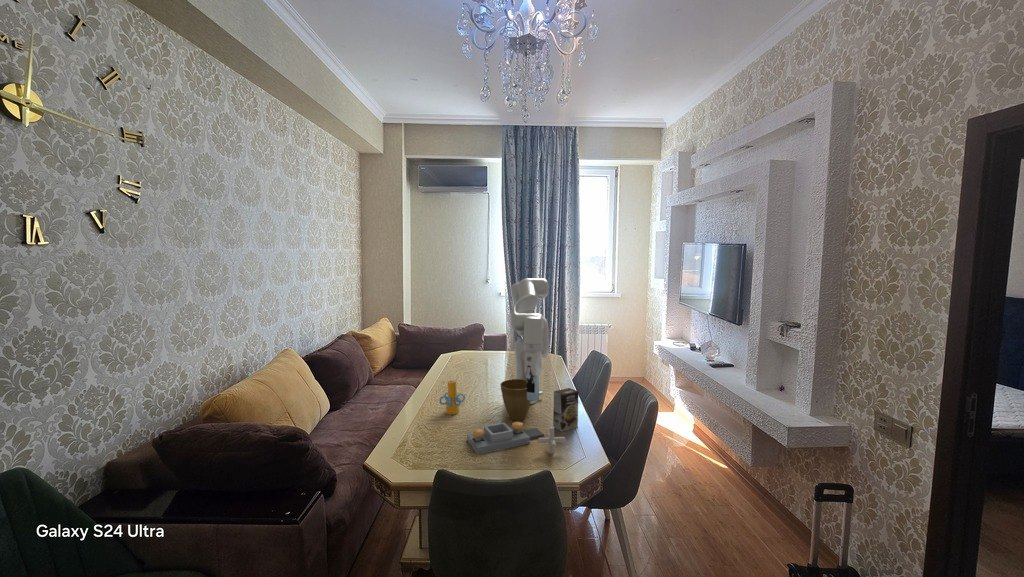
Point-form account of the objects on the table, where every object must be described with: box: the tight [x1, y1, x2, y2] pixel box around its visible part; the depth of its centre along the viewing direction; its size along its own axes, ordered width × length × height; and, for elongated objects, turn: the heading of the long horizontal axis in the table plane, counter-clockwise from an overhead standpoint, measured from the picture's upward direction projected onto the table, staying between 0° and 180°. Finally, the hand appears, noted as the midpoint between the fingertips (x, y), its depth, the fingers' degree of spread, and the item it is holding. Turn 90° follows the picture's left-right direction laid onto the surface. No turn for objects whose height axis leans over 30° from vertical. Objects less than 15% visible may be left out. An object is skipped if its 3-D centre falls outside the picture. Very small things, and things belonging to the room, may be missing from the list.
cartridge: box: [527, 374, 540, 402], centre depth 179 cm, size 5×5×13 cm
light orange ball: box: [511, 421, 524, 435], centre depth 179 cm, size 4×4×4 cm
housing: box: [466, 422, 531, 455], centre depth 175 cm, size 22×13×6 cm, turn 114°
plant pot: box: [500, 378, 531, 422], centre depth 199 cm, size 15×15×16 cm
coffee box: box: [552, 387, 579, 432], centre depth 189 cm, size 9×6×16 cm
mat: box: [521, 427, 545, 440], centre depth 182 cm, size 7×7×1 cm
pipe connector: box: [537, 426, 566, 455], centre depth 166 cm, size 10×10×10 cm
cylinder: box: [439, 379, 466, 416], centre depth 205 cm, size 12×10×15 cm
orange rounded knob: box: [472, 428, 484, 443], centre depth 172 cm, size 4×4×4 cm
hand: (532, 389), depth 180 cm, fingers closed on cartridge, 5 cm apart
